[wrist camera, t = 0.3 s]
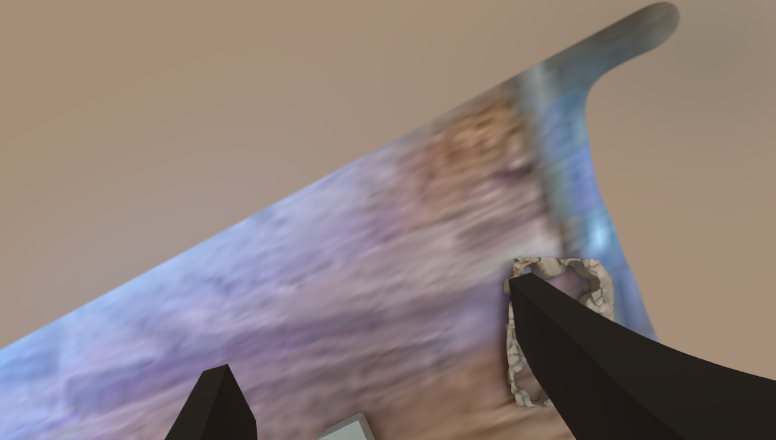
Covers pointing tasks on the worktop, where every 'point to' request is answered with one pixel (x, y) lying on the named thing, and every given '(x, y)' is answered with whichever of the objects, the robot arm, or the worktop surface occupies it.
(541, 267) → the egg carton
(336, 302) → the worktop surface
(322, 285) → the worktop surface
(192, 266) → the worktop surface
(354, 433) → the link
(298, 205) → the worktop surface
